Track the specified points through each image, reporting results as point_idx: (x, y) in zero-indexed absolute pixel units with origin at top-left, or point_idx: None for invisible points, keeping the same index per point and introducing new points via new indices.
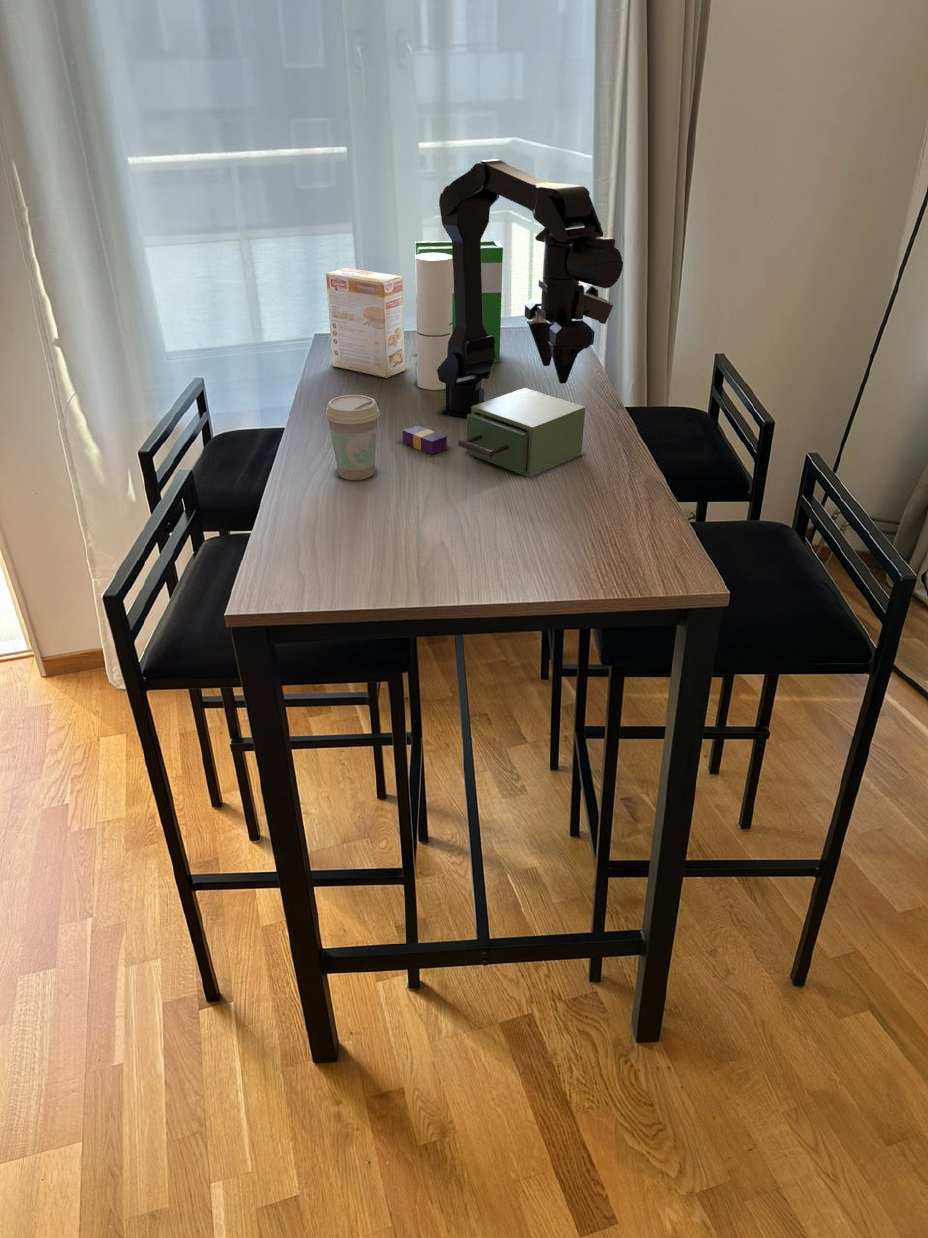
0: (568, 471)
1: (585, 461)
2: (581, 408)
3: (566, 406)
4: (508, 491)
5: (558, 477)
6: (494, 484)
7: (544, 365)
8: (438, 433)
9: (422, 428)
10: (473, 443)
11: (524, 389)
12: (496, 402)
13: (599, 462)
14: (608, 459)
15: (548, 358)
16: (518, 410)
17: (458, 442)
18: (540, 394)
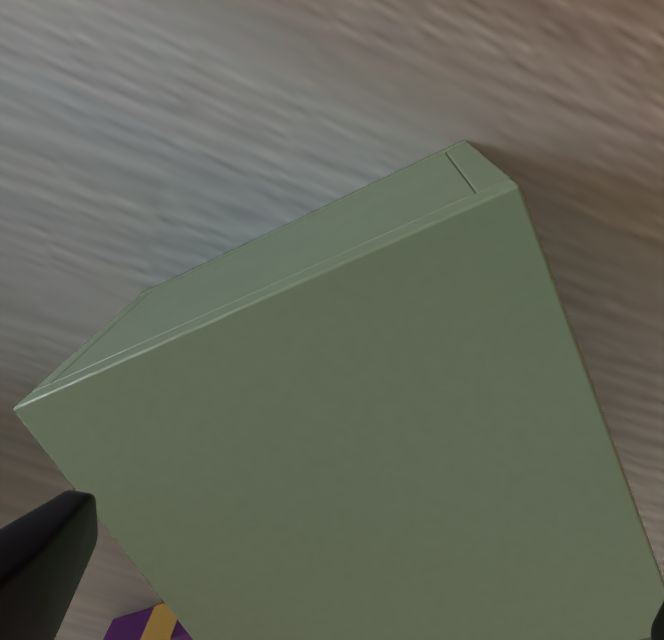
0: (608, 285)
1: (545, 157)
2: (533, 231)
3: (451, 319)
4: None
5: (640, 350)
6: None
7: (95, 538)
8: (186, 636)
9: None
10: None
11: (49, 425)
12: (241, 629)
13: (591, 91)
14: (580, 20)
15: (53, 566)
16: (400, 590)
17: None
18: (163, 375)
